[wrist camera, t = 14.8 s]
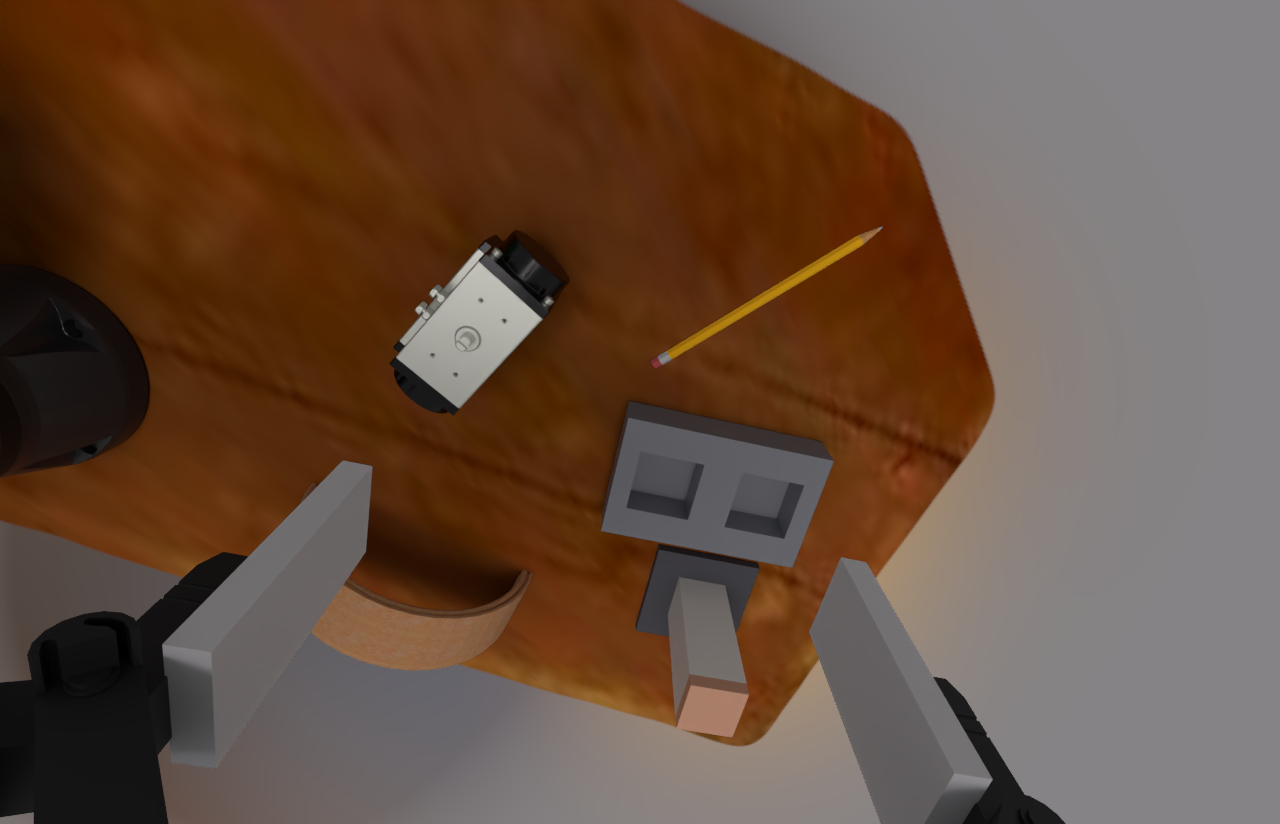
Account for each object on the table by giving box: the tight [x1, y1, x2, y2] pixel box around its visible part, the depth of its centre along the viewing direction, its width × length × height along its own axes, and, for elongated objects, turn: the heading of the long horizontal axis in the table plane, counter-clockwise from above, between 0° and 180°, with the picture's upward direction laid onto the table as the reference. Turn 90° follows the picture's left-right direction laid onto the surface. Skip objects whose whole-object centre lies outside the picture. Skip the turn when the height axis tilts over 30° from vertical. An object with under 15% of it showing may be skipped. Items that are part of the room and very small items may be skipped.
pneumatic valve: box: [390, 230, 569, 415], centre depth 39 cm, size 6×12×12 cm, turn 136°
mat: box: [636, 544, 759, 636], centre depth 55 cm, size 9×9×1 cm
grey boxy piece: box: [601, 401, 834, 567], centre depth 49 cm, size 16×10×4 cm, turn 77°
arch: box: [299, 482, 533, 670], centre depth 49 cm, size 6×20×10 cm, turn 62°
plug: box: [668, 577, 749, 737], centre depth 49 cm, size 4×4×12 cm
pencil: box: [651, 227, 882, 369], centre depth 45 cm, size 1×19×1 cm, turn 123°
